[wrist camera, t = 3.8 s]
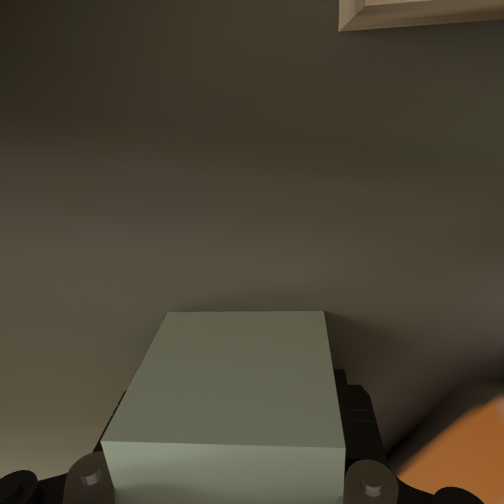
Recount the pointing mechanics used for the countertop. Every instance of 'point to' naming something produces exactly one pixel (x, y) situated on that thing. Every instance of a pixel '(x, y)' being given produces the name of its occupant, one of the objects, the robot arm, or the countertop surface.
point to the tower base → (414, 12)
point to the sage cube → (231, 413)
